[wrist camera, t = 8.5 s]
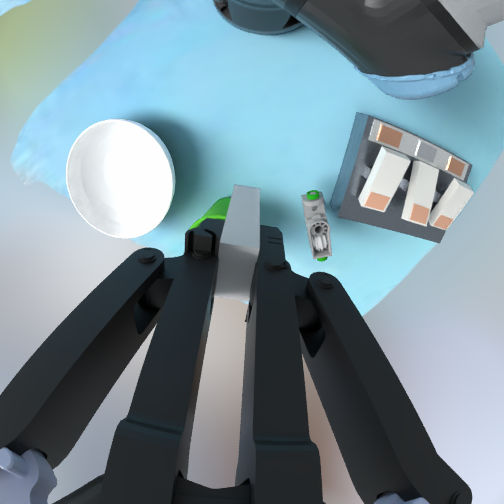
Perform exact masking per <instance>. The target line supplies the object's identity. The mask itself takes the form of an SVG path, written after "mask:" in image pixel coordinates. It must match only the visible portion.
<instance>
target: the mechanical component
mask: <svg viewBox="0 0 504 504" xmlns="http://www.w3.org/2000/svg"><path fill="white" fill-rule="evenodd" d="M301 196H302V202H303V208H304V216H305V223H306V227H307V231H308V237H309V243H310V247H311V251H312V255H313V259H317V260H318V261H325V260H327V257H328V256H332V251H331V241H330V226H329V224H328V222H327V217H326V215H325V208H324V197H323V194H322V193H321V192H319V191H317V190H312V191H309V192H307V194H306V195H301Z"/></svg>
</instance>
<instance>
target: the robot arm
mask: <svg viewBox="0 0 504 504" xmlns="http://www.w3.org/2000/svg"><path fill="white" fill-rule="evenodd" d="M213 3H214V5H215V7H216V9H217V11H218V12H219V14H220V15H221V16H222V17H223V19H225V20H226V21H227V22H228V23H229V24H231V25H232V26H234V27H236V28H238V29H240V30H243V31H246V32H249V33H254V34H261V35H274V34H281V33H285V32H289V31H292V30H294V29H296V28H298V27H300V26H302V25H303V24H304V25H306V26H307V27H309V28H310V29H311V30H313V31H314V32H315V33H317V34H318V35H319V36H320V37H322V38H323V39H324V40H325V41H327V42H328V43H329V44H330V45H332V46H333V47H334V48H335V49H336V50H338V51H339V52H340V53H341V54H342V55H343V56H344V57H346V58H347V59H348V60H349V61H350V62H351V63H352V64H353V65H354V68H355V69H356V70H357V71H358V72H359V73H361V74H362V75H364V76H366V77H367V78H368V79H369V80H371V81H372V82H373V83H374V84H375V85H376V86H377V87H378V88H379V89H380V90H381V91H382V92H384V93H385V94H387V95H391V96H392V97H395V98H398V99H407V100H413V99H422V98H427V97H431V96H435V95H438V94H441V93H443V92H446V91H448V90H450V89H452V88H454V87H456V86H457V85H458V81H460V80H466V79H467V78H468V77H469V76H470V74H471V73H472V71H473V68H474V66H475V61H474V55H473V52H474V51H477V50H479V49H481V48H483V47H484V39H485V31H486V29H487V27H488V26H490V25H492V24H495V23H498V22H500V21H503V20H504V0H213ZM214 297H221V298H228V299H235V300H242V301H249V305H248V310H247V315H246V320H245V322H247V328H246V343H245V360H244V376H243V393H242V409H241V427H240V443H239V458H238V466H237V471H236V480H235V487H228V488H221V489H211V488H208V487H205V486H202V485H200V484H197V483H194V482H192V481H189V480H187V473H188V462H189V461H188V460H189V450H190V442H191V436H192V429H193V422H194V415H195V408H196V402H197V395H198V390H199V383H200V377H201V371H202V365H203V359H204V354H205V347H206V342H207V337H208V331H209V326H210V320H211V314H212V309H213V302H214ZM249 297H250V300H249ZM156 324H157V325H156ZM155 325H156V328H155V331H154V334H153V337H152V340H151V343H150V346H149V349H148V352H147V354H146V357H145V361H144V364H143V367H142V370H141V373H140V376H139V379H138V383H137V386H136V389H135V393H134V396H133V400H132V403H131V406H130V410H129V413H128V415H127V417H126V418H124V419H123V420H121V421H120V423H119V424H118V426H117V429H116V431H115V434H114V438H113V441H112V445H111V449H110V454H109V457H108V461H107V466H106V470H105V474H103V475H101V476H98V477H97V478H95V479H93V480H92V481H90V482H88V483H87V484H85V485H84V486H82V487H81V488H79V489H77V490H75V491H74V492H72V493H71V494H69V495H67V496H65V497H64V498H62V499H60V500H58V501H56V502H55V503H53V504H326V503H324V502H323V497H322V479H321V466H320V456H319V450H318V448H317V445H316V444H315V443H313V442H312V441H311V439H310V436H309V426H308V414H307V402H306V392H305V381H304V371H303V361H302V354H303V357H304V359H305V362H306V364H307V367H308V369H309V372H310V375H311V377H312V380H313V382H314V385H315V387H316V390H317V392H318V395H319V397H320V400H321V402H322V405H323V408H324V410H325V412H326V415H327V418H328V420H329V423H330V425H331V428H332V431H333V433H334V436H335V438H336V441H337V444H338V446H339V449H340V451H341V454H342V457H343V459H344V462H345V464H346V467H347V470H348V472H349V475H350V477H351V480H352V482H353V485H354V486H355V489H356V491H357V493H358V495H359V496H360V498H361V499H362V501H363V502H364V504H471V503H472V492H471V489H470V488H469V487H468V485H467V484H466V483H465V482H464V481H463V480H462V479H461V478H460V477H459V476H458V475H457V474H456V473H455V472H454V471H453V470H452V469H451V468H450V467H449V466H448V465H447V463H446V462H445V461H443V459H442V458H440V456H439V455H438V454H437V452H436V450H435V448H434V446H433V444H432V442H431V440H430V438H429V436H428V434H427V432H426V430H425V427H424V426H423V424H422V422H421V420H420V418H419V416H418V414H417V412H416V410H415V408H414V406H413V404H412V402H411V400H410V399H409V397H408V395H407V393H406V391H405V389H404V388H403V386H402V384H401V382H400V380H399V379H398V377H397V375H396V373H395V372H394V370H393V368H392V366H391V365H390V363H389V361H388V359H387V358H386V356H385V354H384V352H383V351H382V349H381V347H380V346H379V344H378V342H377V341H376V339H375V337H374V336H373V334H372V332H371V331H370V329H369V327H368V326H367V324H366V323H365V321H364V319H363V318H362V316H361V314H360V313H359V311H358V310H357V308H356V306H355V305H354V303H353V302H352V300H351V299H350V297H349V295H348V294H347V292H346V291H345V289H344V288H343V286H342V285H341V283H340V282H339V281H338V279H337V278H335V277H334V276H332V275H331V274H328V273H325V272H315V273H313V274H311V275H310V277H309V278H306V277H303V276H300V275H298V274H296V273H294V272H293V271H291V266H290V264H289V263H288V262H287V261H286V260H285V252H284V245H283V237H282V233H281V232H280V230H279V229H278V228H276V227H270V226H264V225H260V188H254V187H248V186H242V185H234V189H233V193H232V196H231V200H230V204H229V208H228V212H227V216H226V220H219V219H212V218H206V219H205V220H203V221H202V222H201V223H200V226H199V227H196V228H192V229H190V230H188V231H187V232H186V233H185V252H184V255H182V256H179V257H173V258H164V254H163V253H162V252H161V251H160V250H158V249H155V248H142V249H139V250H137V251H135V252H134V253H133V254H131V255H130V256H129V257H128V258H127V259H126V260H125V261H124V262H123V263H121V264H120V266H118V267H117V268H116V269H115V270H114V271H113V272H112V273H111V274H110V275H109V276H108V277H107V278H106V279H104V280H103V281H102V282H101V283H100V284H99V285H98V286H97V287H96V288H95V289H94V290H93V291H92V292H91V293H90V294H89V295H88V296H87V297H86V298H85V299H84V300H83V301H82V302H81V303H80V304H79V305H78V306H77V307H76V308H75V309H74V310H73V311H72V312H71V313H70V314H69V315H68V316H67V318H66V319H65V320H64V321H63V322H62V323H61V324H60V325H59V326H58V327H57V328H56V329H55V330H54V331H53V332H52V334H51V335H50V336H49V337H48V338H47V339H46V340H45V341H44V342H43V344H42V345H41V346H40V347H39V348H38V349H37V351H36V352H35V353H34V354H33V355H32V356H31V357H30V359H29V360H28V361H27V362H26V363H25V365H24V366H23V367H22V368H21V369H20V371H19V372H18V373H17V374H16V376H15V377H14V378H13V379H12V381H11V382H10V383H9V385H8V386H7V387H6V389H5V390H4V391H3V392H2V394H1V395H0V504H47V499H48V495H49V494H50V492H51V491H52V490H53V488H55V487H56V485H57V479H56V477H55V475H54V472H53V469H54V468H55V467H57V466H58V465H59V464H60V463H61V462H62V461H63V460H64V459H65V458H66V457H67V455H68V454H69V453H70V451H71V450H72V448H73V447H74V446H75V444H76V442H77V441H78V439H79V438H80V436H81V434H82V433H83V431H84V430H85V428H86V427H87V425H88V423H89V422H90V420H91V419H92V417H93V416H94V414H95V413H96V411H97V409H98V408H99V406H100V405H101V403H102V402H103V400H104V399H105V397H106V396H107V394H108V393H109V391H110V390H111V388H112V387H113V385H114V384H115V383H116V381H117V380H118V378H119V377H120V375H121V374H122V372H123V371H124V369H125V368H126V366H127V365H128V364H129V362H130V360H131V359H132V358H133V356H134V355H135V353H136V352H137V351H138V349H139V348H140V346H141V345H142V343H143V342H144V341H145V339H146V338H147V336H148V335H149V334H150V332H151V331H152V329H153V328H154V327H155Z"/></svg>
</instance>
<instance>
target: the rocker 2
mask: <svg viewBox="0 0 504 504" xmlns="http://www.w3.org/2000/svg"><path fill="white" fill-rule="evenodd" d="M438 173H439V169H437V168H434V167H432V166H430V165H428V164H426V163H423V162H421V161H413V167H412V172H411V177H410V182H409V187H408V192H407V196H406V200H405V205H404V209H403V213H402V217H401V218H402V219H404V220H407V221H410V222H413V223H416V224H419V225H423V226H427V223H428V219H429V215H430V211H431V207H432V202H433V198H434V193H435V189H436V184H437V179H438Z"/></svg>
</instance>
